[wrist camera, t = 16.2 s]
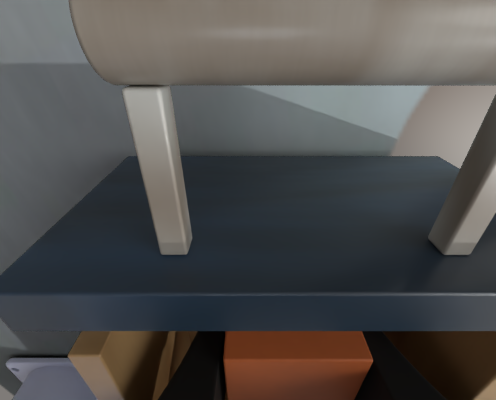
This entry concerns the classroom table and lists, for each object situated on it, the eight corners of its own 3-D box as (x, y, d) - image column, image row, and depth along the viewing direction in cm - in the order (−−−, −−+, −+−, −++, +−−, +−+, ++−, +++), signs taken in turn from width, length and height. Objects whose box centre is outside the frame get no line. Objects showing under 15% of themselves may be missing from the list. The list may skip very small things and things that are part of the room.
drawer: (90, 12, 8) (-334, -78, 2) (498, 12, 8) (1169, -77, 2) (174, 333, 17) (135, 482, 11) (365, 333, 17) (425, 482, 11)
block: (326, 241, 11) (374, 361, 7) (313, 302, 13) (344, 421, 9) (232, 241, 11) (223, 360, 7) (234, 302, 13) (228, 421, 9)
